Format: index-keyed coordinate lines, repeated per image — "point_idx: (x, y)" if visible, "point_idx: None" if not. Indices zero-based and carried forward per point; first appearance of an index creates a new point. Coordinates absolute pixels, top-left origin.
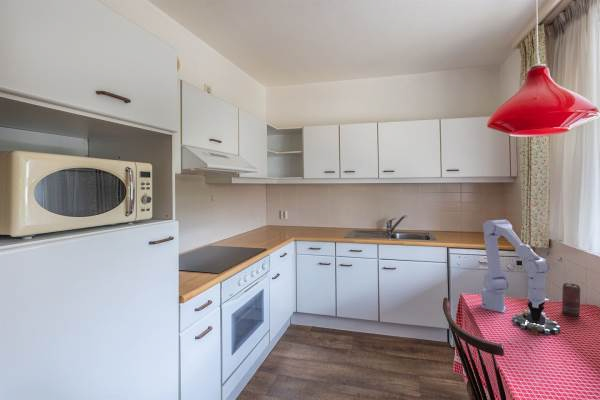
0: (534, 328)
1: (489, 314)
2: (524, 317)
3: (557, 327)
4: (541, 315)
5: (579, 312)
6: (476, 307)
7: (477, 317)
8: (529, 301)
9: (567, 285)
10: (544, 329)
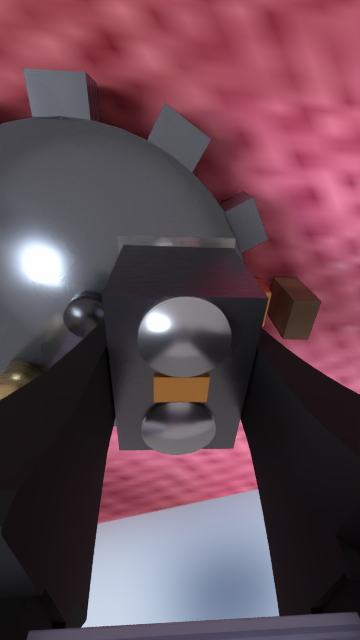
0: (313, 319)
1: (112, 478)
2: None
3: (89, 107)
4: (245, 338)
5: None
6: None
7: (191, 500)
8: (86, 590)
9: None
10: (250, 242)
